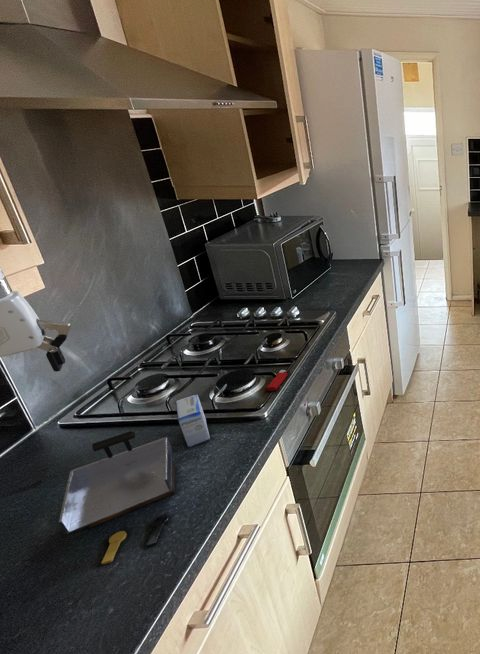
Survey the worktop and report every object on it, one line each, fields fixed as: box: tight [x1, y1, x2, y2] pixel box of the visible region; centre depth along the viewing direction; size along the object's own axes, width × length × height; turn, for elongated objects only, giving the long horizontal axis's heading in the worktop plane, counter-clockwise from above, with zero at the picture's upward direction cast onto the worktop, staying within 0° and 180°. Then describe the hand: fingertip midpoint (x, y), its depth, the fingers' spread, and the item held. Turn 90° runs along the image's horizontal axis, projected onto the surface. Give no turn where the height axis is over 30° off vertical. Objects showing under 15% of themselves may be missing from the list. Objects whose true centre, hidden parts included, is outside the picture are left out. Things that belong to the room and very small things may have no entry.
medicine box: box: [175, 394, 211, 448], centre depth 99 cm, size 8×4×9 cm, turn 40°
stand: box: [87, 464, 176, 529], centre depth 84 cm, size 13×7×5 cm, turn 127°
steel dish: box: [58, 430, 173, 535], centre depth 80 cm, size 15×13×8 cm
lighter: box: [265, 369, 289, 392], centre depth 119 cm, size 3×1×8 cm
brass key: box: [100, 530, 128, 566], centre depth 76 cm, size 2×6×1 cm, turn 23°
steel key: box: [146, 514, 170, 547], centre depth 79 cm, size 2×6×1 cm, turn 21°
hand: (22, 377), depth 76 cm, fingers open, 9 cm apart
